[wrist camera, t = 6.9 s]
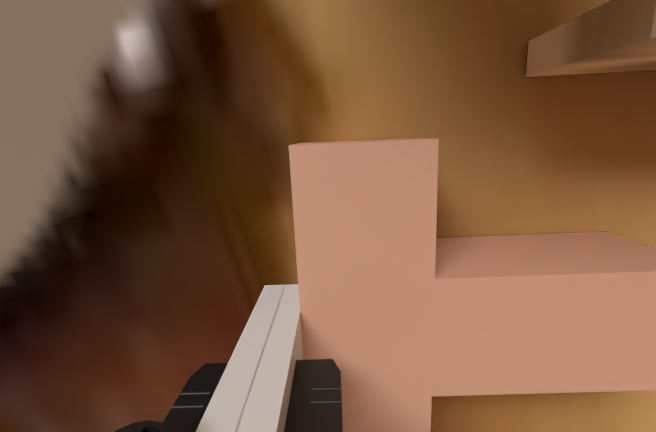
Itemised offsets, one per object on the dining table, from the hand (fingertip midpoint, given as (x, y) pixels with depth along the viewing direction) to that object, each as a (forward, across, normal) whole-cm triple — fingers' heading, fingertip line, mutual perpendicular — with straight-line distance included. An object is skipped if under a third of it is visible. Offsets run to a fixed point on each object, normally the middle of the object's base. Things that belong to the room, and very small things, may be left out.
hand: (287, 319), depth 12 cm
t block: (+2, +7, 0) cm, 7 cm away
